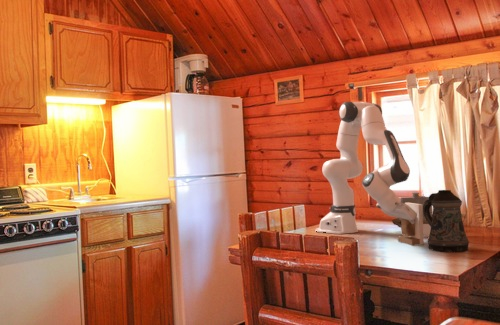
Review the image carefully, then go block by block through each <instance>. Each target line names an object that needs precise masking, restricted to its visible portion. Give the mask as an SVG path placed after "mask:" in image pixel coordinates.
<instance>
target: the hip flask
mask: <svg viewBox="0 0 500 325" xmlns="http://www.w3.org/2000/svg"><path fill="white" fill-rule="evenodd" d="M411 195H412V196H405V197H399V198H400V203H403V204H405V203H416V204H423V205H424V202H425V201H426V200H429V196H424V195H423V196H422V195H420V192H415V191H414V192H412V193H411ZM429 211H430V215H431V217H432V214H433V206H430V210H429ZM423 218H425V217H424V214H423ZM400 230H401V229H400ZM401 232H402V230H401Z"/></svg>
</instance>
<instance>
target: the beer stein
mask: <svg viewBox="0 0 500 325" xmlns="http://www.w3.org/2000/svg"><path fill="white" fill-rule="evenodd" d="M428 197H429V200H426V201H425V202H424V205H423V214H424V217H425V219H426V221H427V222H428V224H429V225H430V226H431V230H430V235H429V236H428V238H427V245H428V249H429V250H430V251H433V252H439V253H451V252H452V253H453V254H454V252H455V253H465V252H467V251H469V244H470V241H469V239H468V237H467V234H466V231H465V226H464V222H463V220H464V219H463V218H462V215H461V214H462V209H461V208H462V204H463V200H461V198H460V197H458V196H457V195H455V194H454V193H453V191H452V190H451V189H440V190H438V192H435V193H433V192H432V193H431V194H429V196H428ZM430 206H432V217H431V215H430V211H429V210H430Z"/></svg>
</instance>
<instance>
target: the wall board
mask: <svg viewBox="0 0 500 325" xmlns="http://www.w3.org/2000/svg"><path fill="white" fill-rule="evenodd" d="M405 204H407V205H408V206H409V207H411V208H412V209H413V210H414V211H415V212H416V213H417V216H416V218H415V236H405V235H400V236H397V238H398V242H399V243H403V244H406V245H409V246H419V245H421V246H422V245H424V236H423V204H416V203H405Z"/></svg>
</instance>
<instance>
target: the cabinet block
mask: <svg viewBox="0 0 500 325" xmlns="http://www.w3.org/2000/svg"><path fill="white" fill-rule="evenodd" d="M414 221H415V219H414ZM400 230H402V231H401V236H415V223H414V224H410V223H409V220H407V219H402V218H401V228H400Z"/></svg>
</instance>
